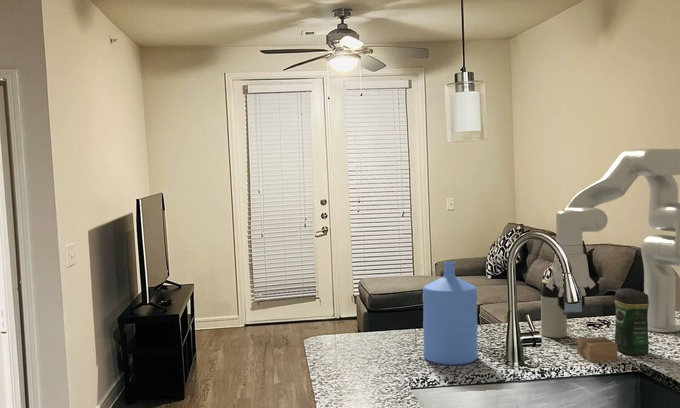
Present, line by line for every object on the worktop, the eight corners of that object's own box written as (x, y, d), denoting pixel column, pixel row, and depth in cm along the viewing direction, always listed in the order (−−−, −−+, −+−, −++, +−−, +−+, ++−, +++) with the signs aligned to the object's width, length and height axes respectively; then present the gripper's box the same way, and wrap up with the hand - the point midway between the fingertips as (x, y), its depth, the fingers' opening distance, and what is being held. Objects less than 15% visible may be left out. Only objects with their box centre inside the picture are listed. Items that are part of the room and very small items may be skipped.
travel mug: (536, 335, 216) (536, 280, 215) (549, 331, 221) (549, 277, 220) (558, 339, 210) (558, 283, 209) (571, 335, 215) (571, 280, 214)
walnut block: (577, 354, 194) (577, 337, 194) (604, 353, 194) (604, 336, 194) (589, 362, 186) (589, 345, 186) (617, 361, 186) (617, 343, 186)
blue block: (560, 308, 207) (560, 289, 206) (577, 308, 206) (576, 289, 206) (565, 312, 202) (564, 292, 201) (581, 311, 201) (581, 292, 201)
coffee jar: (653, 355, 191) (654, 291, 190) (627, 356, 190) (628, 292, 189) (634, 346, 200) (635, 286, 199) (610, 348, 199) (610, 287, 198)
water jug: (486, 363, 186) (485, 265, 184) (432, 367, 183) (431, 267, 182) (466, 349, 201) (465, 258, 200) (416, 352, 198) (415, 260, 197)
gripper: (544, 252, 200) (546, 312, 201) (602, 250, 199) (603, 310, 200) (538, 249, 207) (540, 306, 208) (594, 247, 206) (595, 304, 207)
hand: (571, 307), depth 204 cm, fingers closed on blue block, 5 cm apart
